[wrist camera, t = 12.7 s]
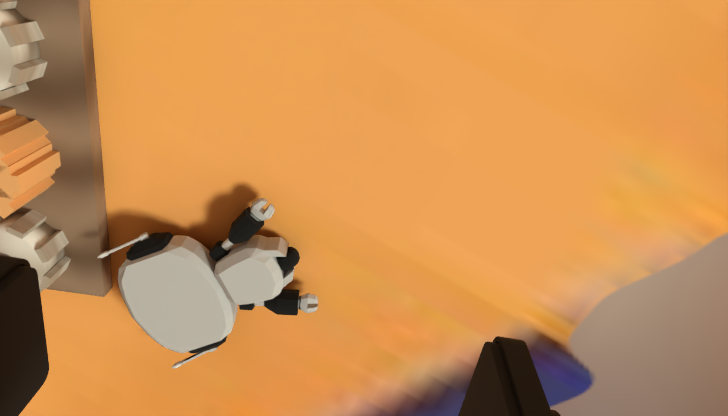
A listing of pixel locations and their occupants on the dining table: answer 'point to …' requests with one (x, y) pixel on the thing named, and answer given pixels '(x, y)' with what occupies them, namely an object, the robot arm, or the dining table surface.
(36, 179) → the orange gear
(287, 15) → the dining table surface
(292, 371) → the dining table surface
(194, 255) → the robot toy
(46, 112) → the gear board
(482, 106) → the dining table surface
